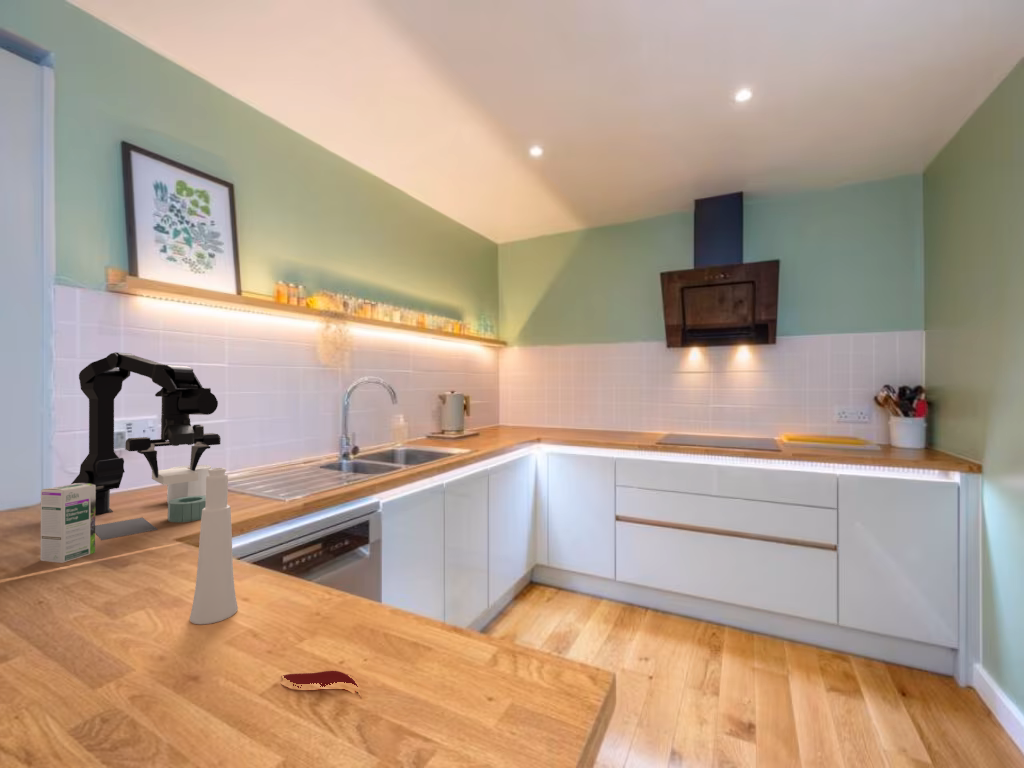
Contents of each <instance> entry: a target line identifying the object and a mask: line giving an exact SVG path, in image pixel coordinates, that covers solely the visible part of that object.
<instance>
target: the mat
mask: <svg viewBox="0 0 1024 768" xmlns="http://www.w3.org/2000/svg"><path fill="white" fill-rule="evenodd" d="M158 530H159V529H158V527H156V526H154V525H153V524H152V523H151V522H149V521H148V520H147V519H146V518H144V517H139V518H138V517H137V518H132V519H125V520H121V521H113V522H109V523H102V524H95V536H97V537H98V539H100V540H101V541H106V540H110V539H115V538H121V537H125V536H132V535H136V534H141V533H147V532H154V531H158Z"/></svg>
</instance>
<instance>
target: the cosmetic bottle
mask: <svg viewBox="0 0 1024 768" xmlns="http://www.w3.org/2000/svg"><path fill="white" fill-rule="evenodd" d="M226 472H227V468H226V467H214V468H212V467H211V469H209V470H208V473H209V475H208V476H207V477H206V506H205V508H203V509H202V516H201V519H200V531H199V539H198V540H199V543H198V545H199V546H198V557H197V566H196V567H197V570H196V578H195V579H196V580H195V587H194V588H195V589H194V596H193V601H192V604H191V605H192V607H191V611H190V616H189V621H190V623H192V624H194V625H210V624H211V625H212V624H214V623H218V622H222V621H225V620H226V619H229V618H231V617H232V616H234V615H235V614H236V613H237V611H238V609H239V607H238V601H237V597H236V596H237V595H236V589H235V578H234V563H233V560H234V559H233V533H232V532H233V531H232V530H233V529H232V510H231V505H229V504H228V497H229V496H228V495H229V494H228V490H229V476H228V474H227V473H226Z"/></svg>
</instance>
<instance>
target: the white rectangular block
mask: <svg viewBox="0 0 1024 768" xmlns="http://www.w3.org/2000/svg"><path fill="white" fill-rule="evenodd" d="M151 479H152V480H154V481H155V482H157V483H159V484H161V485H162V486H164V485H165V486H166V485H168V484H175V483H183V482H191V481H198V472H195V471H193V470H190V469H188V468H185V467H184V468H175V469H169V468H168V469H167V468H166V469H158V478H155V476H154V473H153V471H152V470H151Z"/></svg>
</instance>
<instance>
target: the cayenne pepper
mask: <svg viewBox="0 0 1024 768" xmlns="http://www.w3.org/2000/svg"><path fill="white" fill-rule="evenodd" d="M348 675H349V674H346V673H344V672H343V671H339V670H325V671H319V672H317V671H316V672H303V673H302V672H301V673H289V674H283V676H284V678H286V679H287V680H290V682H293V683H296V684H310V683H311V684H312V683H313V684H314V683H316V684H317V683H319V684H320V685H321V686H322V687H323V686H324V687H325V686H326V685H328V684H329V685H331V684H330V683H332V684H333V683H334V682H335V683H337V682H344V683H345V682H346V683H352V684H354V685H356V686H357V684H356V683H355V681H354V680H353V679H352V678H350V677H349V676H348ZM321 683H322V684H321ZM325 684H326V685H325ZM293 686H294V684H293ZM295 686H296V685H295ZM301 686H302V685H301ZM321 686H320V687H321ZM297 687H298V688H299V686H297ZM357 687H358V686H357ZM300 688H301V687H300Z"/></svg>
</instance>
